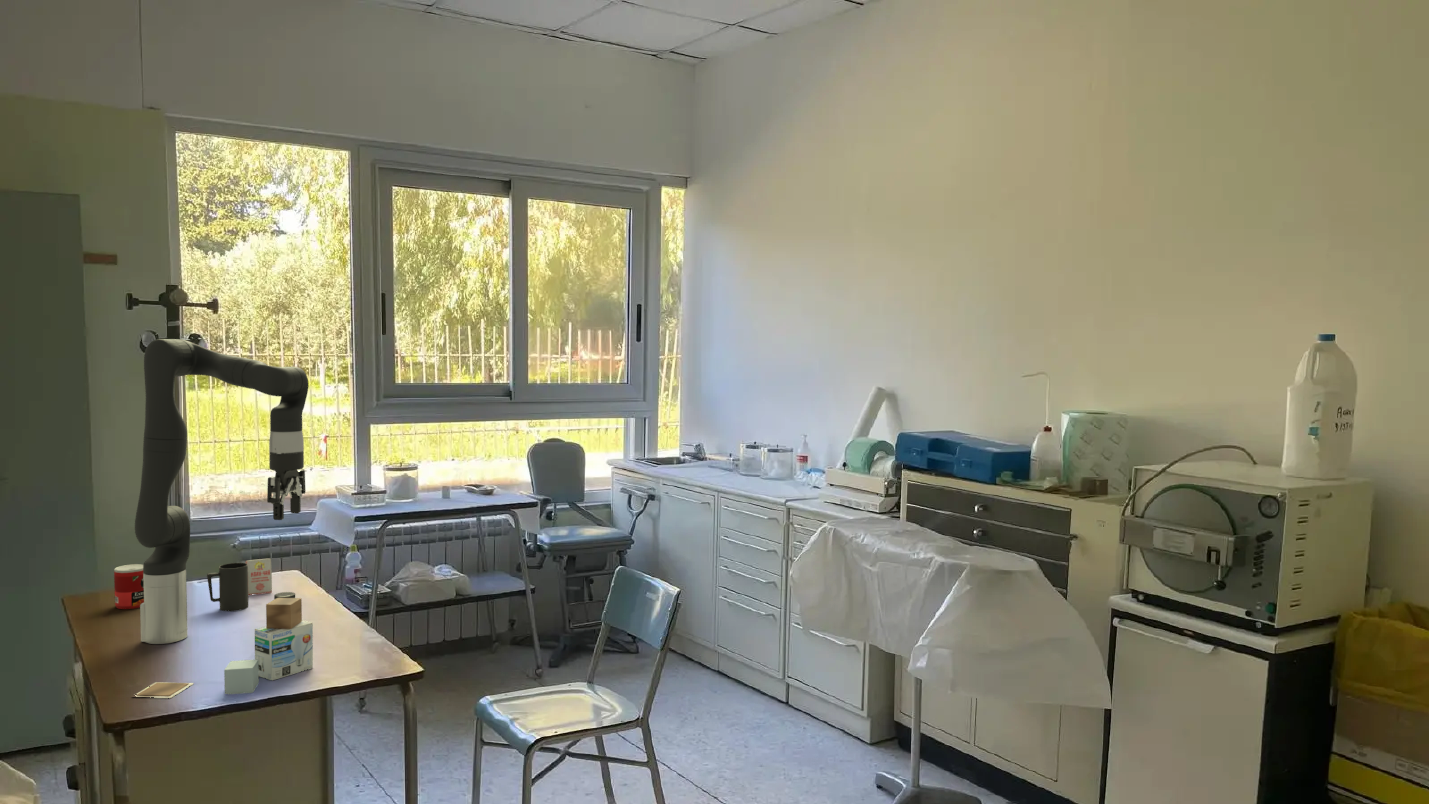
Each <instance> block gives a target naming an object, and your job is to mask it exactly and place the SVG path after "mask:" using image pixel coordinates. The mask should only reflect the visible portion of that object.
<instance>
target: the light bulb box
mask: <svg viewBox="0 0 1429 804" xmlns="http://www.w3.org/2000/svg"><path fill="white" fill-rule="evenodd" d="M313 628H314V627H313V622H311V621H307V620H304V619H302V622H301V623H299V624H298V625H296V626H295V627H293V628H292V629H266V625H265V626H261V627H257V628H254V660H256V659H258V671H259V677H260V678H263V679H265V678H266V680H268V681H271V680H272V681H275V680H276V681H277V680H278V679H281V678H284V677H288V676H291V675H295V674H298V673H301V671H302V672H305V671H307V669H308V670H312V669H314V668H313V665H314V663H313V660H314V658H313V649H314V648H313V646H314V643H313V641H314V640H313V637H314V636H313V634H314V633H313ZM304 670H305V671H304Z"/></svg>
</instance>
